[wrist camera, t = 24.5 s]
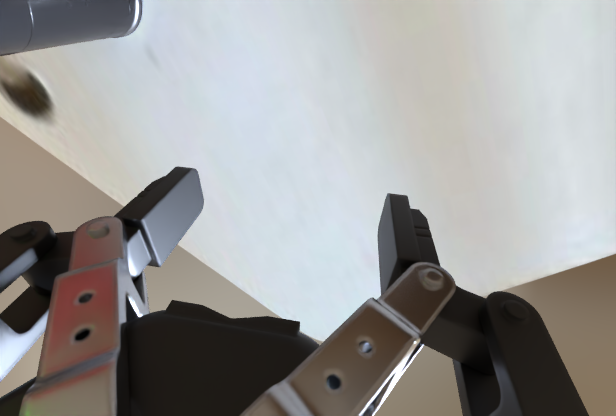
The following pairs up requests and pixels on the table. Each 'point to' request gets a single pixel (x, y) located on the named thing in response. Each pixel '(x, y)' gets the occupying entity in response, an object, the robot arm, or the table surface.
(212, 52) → the table surface
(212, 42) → the table surface
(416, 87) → the table surface
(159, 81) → the table surface
